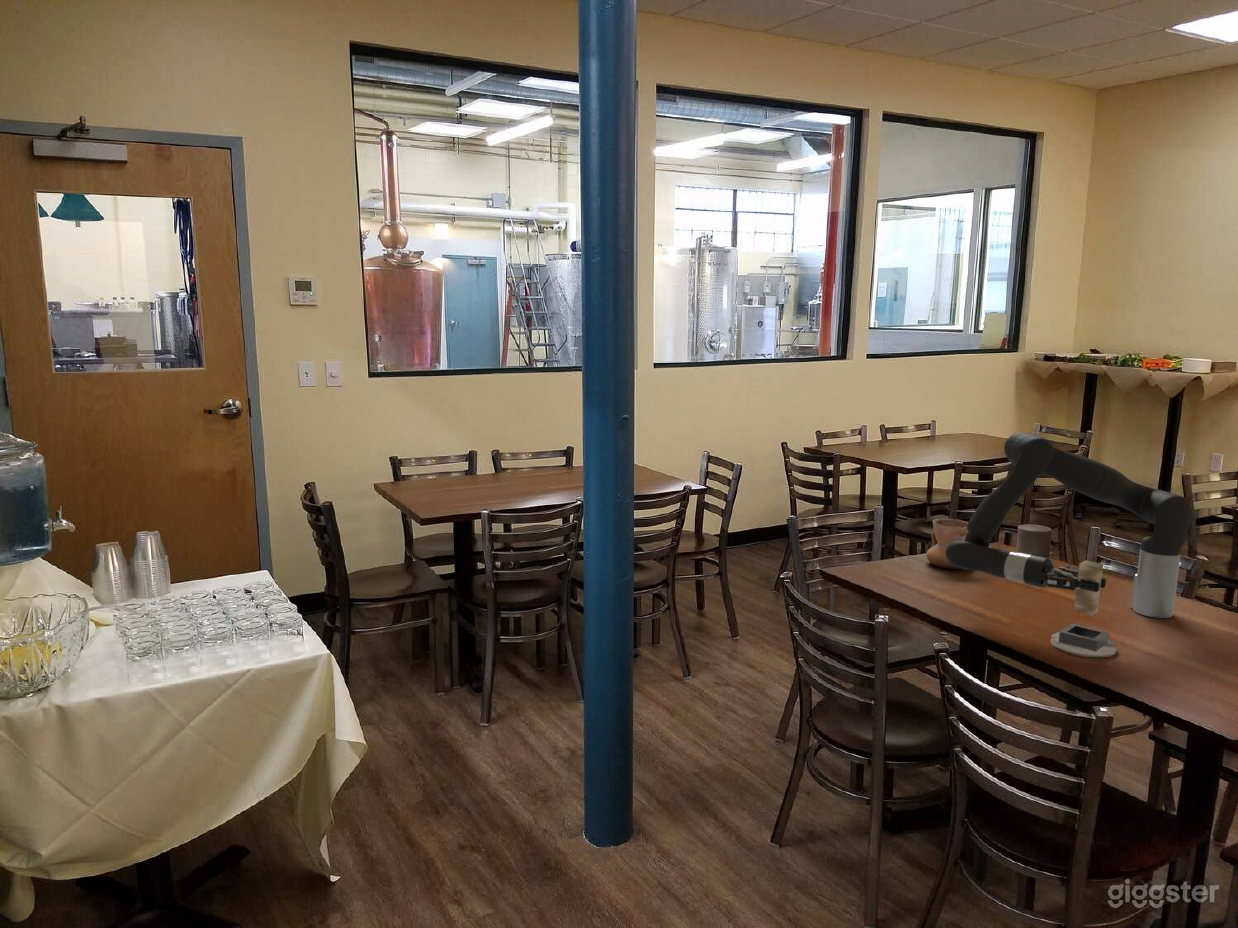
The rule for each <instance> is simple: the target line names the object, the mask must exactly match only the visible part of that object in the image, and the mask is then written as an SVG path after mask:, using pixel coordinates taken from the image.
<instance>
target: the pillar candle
mask: <svg viewBox="0 0 1238 928" xmlns="http://www.w3.org/2000/svg"><path fill="white" fill-rule="evenodd" d="M1052 531H1053V530H1052V528H1051V527H1048V526H1044V525H1041V524H1040V525H1039V524H1037V523H1035V524H1020V525H1018V526H1017V535H1016V536H1017V539H1016V547H1015V548H1016V550H1015V552H1019V553H1025V554H1030V555H1035V556H1040V557H1045V558H1049V559H1050V553H1051V541H1052V534H1053V533H1052Z"/></svg>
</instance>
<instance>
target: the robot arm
mask: <svg viewBox="0 0 1238 928" xmlns="http://www.w3.org/2000/svg"><path fill="white" fill-rule="evenodd" d="M1003 448H1004V449H1003V451H1004V454H1005V457H1006V458H1007V460H1008V461H1009V462H1010V463H1011V464H1013V465H1014V466H1013V468H1012V470H1011V471H1010V474H1009V475H1008V476H1007V477H1006V479H1005V480H1004V481H1003V483H1001V484H1000V485H999V486H998V487H996V488H995V489H994V490H993V491H992V492H990V493H989V494H988V495H987V496H986V497H985V498H984V499H982V501H981V503H979V504H978V506H977V507H976V510H975V511H974V512H973V514H972V516H971V517H970V519H969V521H967V522H968V524H967V530H968V533H967V535H966V538H965V540H964V541H955V542H952V543H951V544H950V545H949V546H948V547H947V549H946V557H947V560H948V561H949V562H950V563H951V564H952V565H954V566H956V567H959V568H962V570H966V571H967V570H968V571H969V570H971V571H978V572H983V573H985V574H988V575H991V576H994V577H999V578H1001V579H1006V580H1010V581H1012V582H1015V583H1019V584H1024V585H1027V586H1028V585H1029V586H1033V587H1037V588H1041V589H1043V588H1046V587H1048V588H1054V589H1055V588H1056V589H1063V590H1068V591H1069V590H1070V591H1076V590H1077V589H1085V590H1089V591H1094V592H1098V591H1099V587H1100V584H1099V583H1098V582H1093V581H1089V580H1084V579H1083V580H1082V579H1081V578H1078V573H1079V568H1078V567H1074V566H1070V565H1066V567H1065V566H1058V567H1056V566H1054V565H1053V561H1052V559H1050V557H1049V558H1045V557H1040V556H1035V555H1030V554H1025V553H1019V552H1016V551H1010V550H1006V549H1001V548H993V547H990V545H991V541H992V538H993V536H995V534H996V533H997V531H998V530H999V529H1000V526H1001V525H1002V523H1003V522H1004V521H1005V519H1006V517H1007V516H1008V515H1009V513H1010V511H1011V510H1012V508H1013V507H1014V506H1015V504H1017V503H1018V501H1019V500H1020V499H1021V498H1022V496H1023V495H1024V494H1025V493H1026V492H1027V491H1028V490H1029V488H1030V487H1031V486H1032V485H1033V484H1034V482H1036V480H1037V479H1038V478H1039V477H1040V476H1041V475H1042V474H1045V475H1047V476H1048V477H1050V478H1052V479H1054V480H1056V481H1057V482H1058V483H1061V484H1063V485H1065V486H1066V487H1068V488H1069V489H1071V490H1074V491H1075V492H1077V493H1080V494H1081V495H1084V496H1087V497H1089V498H1091V499H1094V500H1096V501H1099V502H1102V503H1106V504H1109V505H1114V506H1119V507H1121V508H1123V509H1125V510H1127V511H1128V512H1130V513H1132V514H1134V515H1135V516H1137V517H1139V518H1141V519H1143V520H1144V521H1146V522H1147V523H1149V524H1153V525H1154V528H1153V533H1152V535H1150V536H1146V537H1143V538H1142V539H1141V541H1140V546H1139V547H1140V550H1139V557H1138V567H1137V573H1135V574H1134V575H1133V583H1132V591H1131V592H1132V593H1131V599H1130V608H1131V609H1133V612H1135V613H1137V614H1139V615H1142V616H1145V617H1149V618H1156V619H1168V618H1172V617H1173V616H1174V610H1175V609H1174V608H1175V603H1176V602H1175V601H1176V594H1177V585H1178V578H1179V571H1180V562H1181V561H1180V560H1181V553H1182V549H1183V547H1184V545H1185V544H1186V542H1187V537H1188V533H1189V528H1190V522H1191V514H1192V510H1191V504H1190V502H1189V501H1188V499H1187V498H1185V497H1184V496H1182V495H1179V494H1176V493H1173V492H1169V491H1167V490H1162V489H1156V488H1154V487H1149V486H1146V485H1144V484H1140V483H1137V482H1134V481H1132V480H1131V479H1129V478H1128V477H1127V476H1126V475H1124V473H1122V472H1120V471H1119V470H1117V469H1115V468H1114V467H1111V466H1109V465H1107V464H1104V463H1102V462H1101V461H1097V460H1095V459H1092V458H1089V457H1086V456H1083V455H1080V454H1075V453H1072V452H1069V451H1067V450H1062V449H1060V448H1058V447H1055V446H1054V445H1053V444H1052V443H1051V442H1050V440H1048V439H1047V438H1044V437H1042V436H1040V435H1037V434H1035V433H1032V432H1027V431H1023V432H1020V431H1019V432H1017V433H1013V434H1012V435H1011V436H1009V437H1008V438H1007V440H1006V441H1005V443H1004V447H1003ZM1106 585H1107V579H1106V578H1104V577H1102V580H1101V588H1102V589H1104V588H1105V587H1106ZM1101 588H1100V589H1101Z"/></svg>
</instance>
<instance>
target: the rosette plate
mask: <svg viewBox="0 0 1238 928" xmlns="http://www.w3.org/2000/svg"><path fill="white" fill-rule="evenodd" d="M1109 634H1110V632H1109V631H1105V630H1100V629H1096V628H1093V627H1089V626H1084V625H1080V624H1076V623H1071V624H1069V625H1067V626H1065V627H1064V628H1063V629H1062V630H1059V631H1057V632H1055V633H1053V634H1052V635H1051V636H1050V644H1051V645H1052V646H1053V647H1054V648H1056V649H1057V648H1058V649H1057V650H1059V651H1061V652H1064V653H1067V654H1069V653H1070V655H1073V656H1077V657H1084V658H1089V657H1097V658H1096V659H1099V658H1098V657H1101V658H1100V659H1103V658H1102V657H1108V658H1111V657H1114V656H1115V655H1116V654H1117V645H1116V644H1115V643H1114V642H1113V641H1111V640H1110V639H1109V636H1110V635H1109ZM1113 655H1114V656H1113Z"/></svg>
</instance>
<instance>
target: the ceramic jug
mask: <svg viewBox="0 0 1238 928" xmlns="http://www.w3.org/2000/svg"><path fill="white" fill-rule="evenodd" d="M968 522H969V521H964V520H959V519H953V518H938V519H937V518H936V519H933V521H932V527H933V530H931V531H932V532H931V541H932V547H930V548H929V549H928V550H927V551H926V555H925V556H926V559H927V560H928V561H929V562H930V563H931V564H933V565H934V566H936V567H940V568H944V569H948V570H960V569H962V568H959V567H956V566H954V565H952V564H951V563H950V562H949V561H948V560H947V557H946V549H947V547H948V546H949V545H950V544H951V543H952V542H955V541H964V540H965V538H966V535H967V533H968V530H967V524H968ZM962 570H963V569H962Z"/></svg>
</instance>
